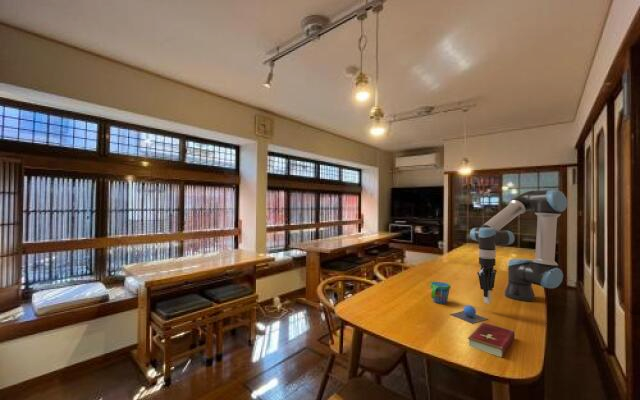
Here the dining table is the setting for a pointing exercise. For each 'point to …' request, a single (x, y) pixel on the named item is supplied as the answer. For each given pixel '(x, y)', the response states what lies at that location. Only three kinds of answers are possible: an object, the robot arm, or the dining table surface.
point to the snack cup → (440, 292)
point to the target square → (469, 319)
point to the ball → (469, 311)
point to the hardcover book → (491, 339)
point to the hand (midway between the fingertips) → (487, 302)
